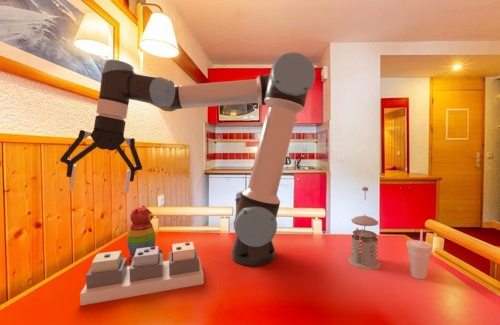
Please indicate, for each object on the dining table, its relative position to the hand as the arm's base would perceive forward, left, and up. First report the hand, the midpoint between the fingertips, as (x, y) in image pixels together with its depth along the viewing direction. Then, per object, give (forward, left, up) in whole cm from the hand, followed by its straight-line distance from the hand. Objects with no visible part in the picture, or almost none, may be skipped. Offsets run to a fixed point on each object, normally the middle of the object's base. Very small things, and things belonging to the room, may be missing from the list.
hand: (99, 190), depth 73 cm
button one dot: (-2, +6, -21) cm, 22 cm away
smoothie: (-87, +29, -27) cm, 96 cm away
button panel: (-12, +6, -26) cm, 30 cm away
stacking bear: (-9, -13, -27) cm, 31 cm away
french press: (-78, +17, -27) cm, 84 cm away
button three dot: (-12, +6, -21) cm, 25 cm away
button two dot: (-22, +6, -21) cm, 31 cm away
